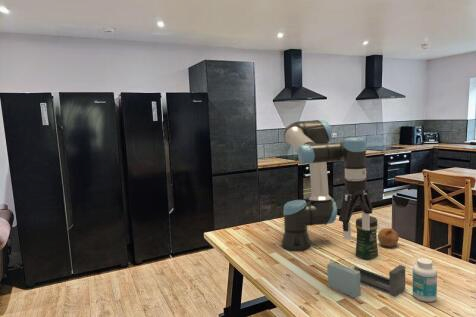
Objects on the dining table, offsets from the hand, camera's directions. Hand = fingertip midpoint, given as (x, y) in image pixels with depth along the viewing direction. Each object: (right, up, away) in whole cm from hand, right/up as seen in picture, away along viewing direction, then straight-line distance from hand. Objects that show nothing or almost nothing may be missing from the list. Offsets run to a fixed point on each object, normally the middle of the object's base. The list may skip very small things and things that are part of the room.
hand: (356, 234), depth 121 cm
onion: (+30, -15, +38) cm, 51 cm away
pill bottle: (+21, -21, -8) cm, 30 cm away
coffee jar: (+15, -17, +28) cm, 36 cm away
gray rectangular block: (-5, -21, -1) cm, 22 cm away
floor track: (+8, -20, +3) cm, 22 cm away
